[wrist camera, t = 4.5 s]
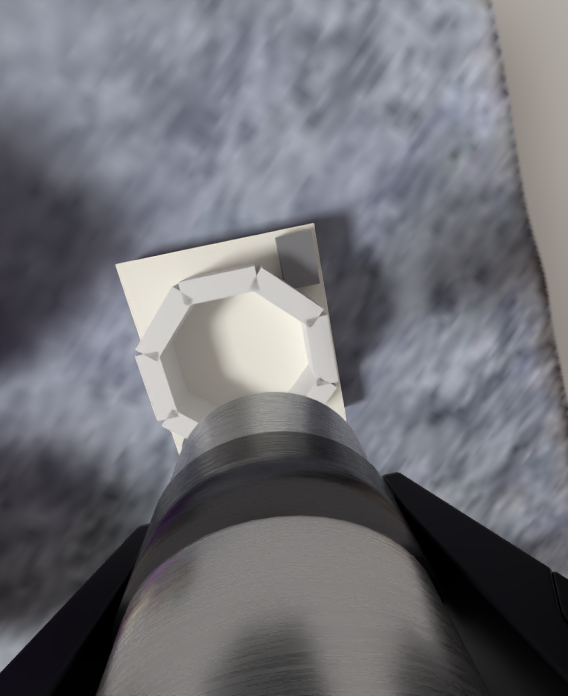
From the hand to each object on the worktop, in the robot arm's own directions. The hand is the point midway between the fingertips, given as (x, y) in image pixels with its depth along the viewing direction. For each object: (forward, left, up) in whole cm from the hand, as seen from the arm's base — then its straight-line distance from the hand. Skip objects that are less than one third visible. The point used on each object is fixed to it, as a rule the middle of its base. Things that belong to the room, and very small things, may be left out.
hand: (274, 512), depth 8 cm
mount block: (+1, +1, -12) cm, 12 cm away
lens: (0, 0, -1) cm, 1 cm away
